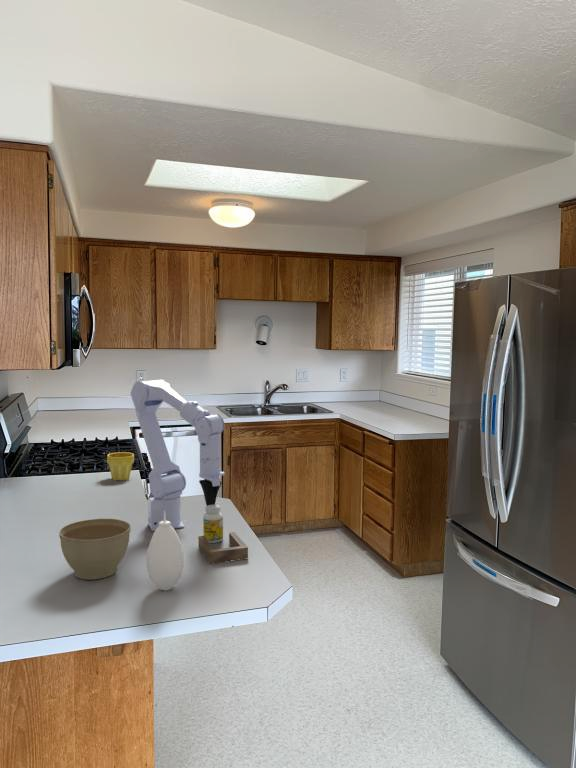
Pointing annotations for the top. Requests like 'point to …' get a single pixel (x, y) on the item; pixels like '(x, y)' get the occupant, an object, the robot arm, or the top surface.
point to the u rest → (224, 550)
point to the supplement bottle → (213, 524)
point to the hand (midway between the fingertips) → (210, 505)
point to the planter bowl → (94, 546)
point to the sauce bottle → (165, 556)
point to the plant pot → (120, 465)
